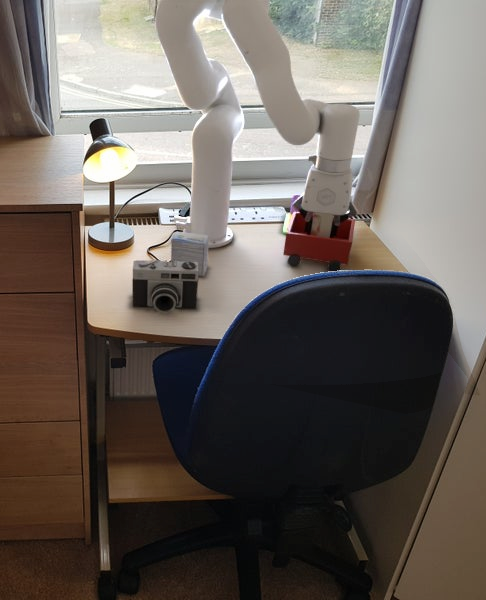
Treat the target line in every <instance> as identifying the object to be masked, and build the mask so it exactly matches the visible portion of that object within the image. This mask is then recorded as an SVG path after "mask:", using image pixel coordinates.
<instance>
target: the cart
mask: <svg viewBox="0 0 486 600" xmlns="http://www.w3.org/2000/svg"><path fill="white" fill-rule="evenodd" d="M313 215H314V214H313ZM313 215H312V218H313ZM333 221H334V216H333ZM333 221H332V222H333ZM305 224H306V221H305V219H304V217H303V216H302V215H301V214H300V212H293V215H292V218H291V221H290V224H289V227H288V230H287V233H286V234H285V240H284V247H283V253H282V254H283V256H288V258H287V263H288V265H289V266H291V267H298V266H299V265H300V263H301V260H302V259H307V260H311V261H319V262H326V263H328V264H327V270H328V271H329V272H330V271H337V270H340V271H341V269H342V265H345V266H348V263H349V261H350V255H351V249H352V246H353V245H352V244H353V241H354V240H353V239H354V232H355V227H356V226H355V225H356V219H353V218H348V219H347V220H345V221H344V222H342V223H340V225H339V226H338V230H337V235H336V236H333V238H326V237H319V236H312V235H307V232H304V230H305Z"/></svg>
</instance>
